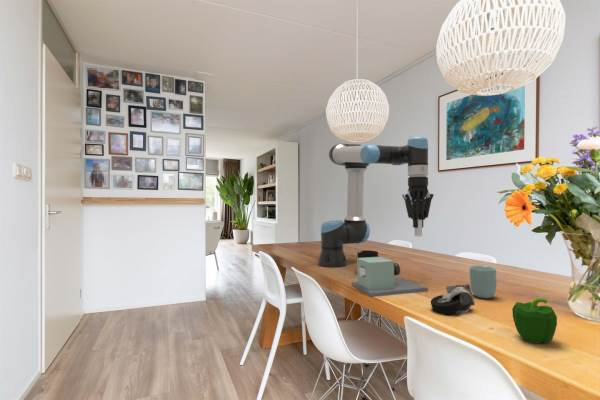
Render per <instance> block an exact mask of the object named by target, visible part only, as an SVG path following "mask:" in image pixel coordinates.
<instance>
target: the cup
mask: <svg viewBox="0 0 600 400" xmlns="http://www.w3.org/2000/svg"><path fill="white" fill-rule="evenodd" d="M497 277H498V276H497V269H496V268H495V267H493V266H487V265H470V267H469V282H470V283H469V285H470V289H471V292H472V295H474V296H475V297H476V298H479V299H484V300H485V299H492V298H494V297H495V295H496V293H497Z"/></svg>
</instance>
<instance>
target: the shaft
mask: <svg viewBox="0 0 600 400" xmlns="http://www.w3.org/2000/svg"><path fill="white" fill-rule="evenodd" d="M358 273H359V275H360V276H365V267H363V268H359V269H358ZM400 274H401V267H400V265H399V264H398V263H397V262H394V276H399V275H400Z"/></svg>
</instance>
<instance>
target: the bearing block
mask: <svg viewBox="0 0 600 400" xmlns="http://www.w3.org/2000/svg"><path fill="white" fill-rule="evenodd" d="M394 263H395V261H394V260H391V259H388V258H386V257H383V256H378V257H368V258H358V257H357V258H356V269H357V270H356V279H357V281H352V282H351V286H353V287H354V288H356V289H357V290H359V291H360V292H363V293H364V294H366V295H368V296H369V297H380V296H392V295H399V294H411V293H421V292H428V291H429V288H428V287H426V286H424V285H422V284H419V283H417V282H414V281H412V280H409V279H406V278H404V277H397V278H395V275H394ZM363 267H365V276H360V275H359V273H358V269H359V268H363Z"/></svg>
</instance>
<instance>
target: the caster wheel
mask: <svg viewBox="0 0 600 400" xmlns="http://www.w3.org/2000/svg"><path fill="white" fill-rule="evenodd" d="M445 289H446V292H445V293H442V294H441V295H437V296H435V297H433V298H431V300H430V305H431V308H432V311H433V312H434V313H436V314H440V315H450V314H451V315H452V314H454V313H455V314H458V315H459V314H460V315H462V314H464V315H465V314H466V313H467V312H469V310H470V309H471V307H472V306H476V305H475V301H474V297H473V293H472V290H471V286H470V283H469V284H457V285H447V286H445Z"/></svg>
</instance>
